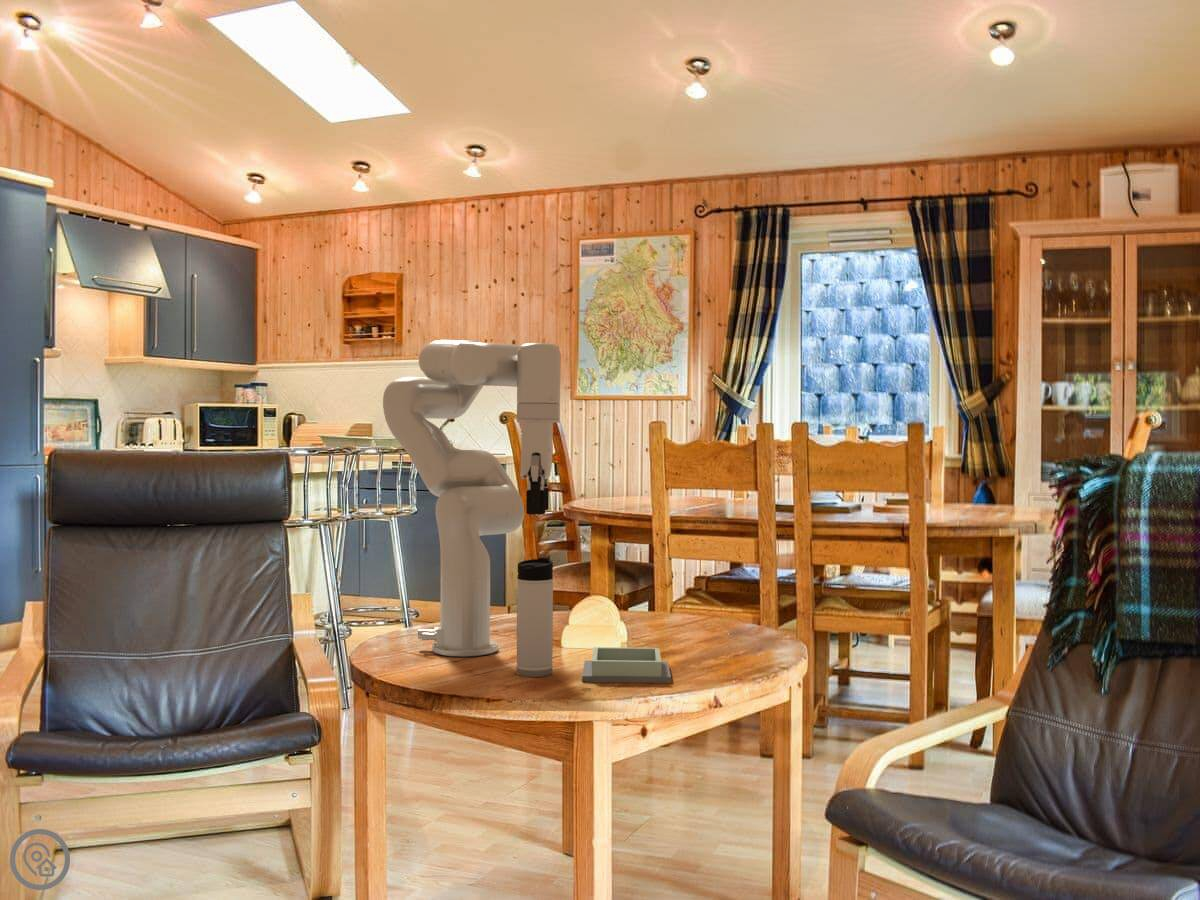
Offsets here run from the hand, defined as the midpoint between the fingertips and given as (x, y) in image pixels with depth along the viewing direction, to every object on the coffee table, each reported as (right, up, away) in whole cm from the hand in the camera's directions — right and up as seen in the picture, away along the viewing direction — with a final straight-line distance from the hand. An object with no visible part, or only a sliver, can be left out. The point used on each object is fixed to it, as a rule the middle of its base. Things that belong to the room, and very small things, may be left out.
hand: (537, 512), depth 187 cm
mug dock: (+16, -28, 0) cm, 32 cm away
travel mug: (0, -29, 0) cm, 29 cm away
